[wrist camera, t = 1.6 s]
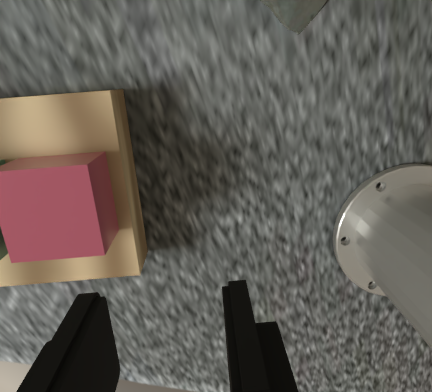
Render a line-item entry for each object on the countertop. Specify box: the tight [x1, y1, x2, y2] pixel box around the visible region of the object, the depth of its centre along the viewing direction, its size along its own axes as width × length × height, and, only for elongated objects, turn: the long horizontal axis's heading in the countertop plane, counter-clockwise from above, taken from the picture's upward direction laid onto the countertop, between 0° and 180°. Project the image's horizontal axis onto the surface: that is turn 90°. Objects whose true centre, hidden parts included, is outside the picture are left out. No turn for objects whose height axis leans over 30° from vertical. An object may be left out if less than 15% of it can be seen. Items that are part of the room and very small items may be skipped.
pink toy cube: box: [0, 151, 119, 263], centre depth 23 cm, size 6×6×4 cm
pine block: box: [0, 89, 148, 287], centre depth 27 cm, size 16×14×4 cm
